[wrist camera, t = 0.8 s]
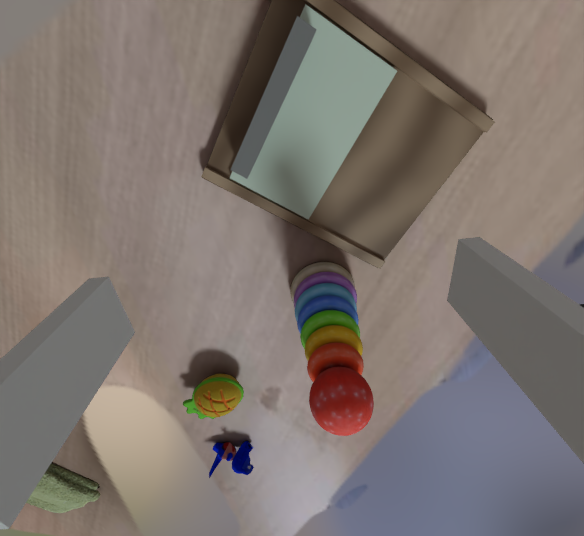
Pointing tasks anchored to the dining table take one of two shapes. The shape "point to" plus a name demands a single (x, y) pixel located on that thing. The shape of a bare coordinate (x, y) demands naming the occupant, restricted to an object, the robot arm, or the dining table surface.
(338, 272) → the stacking toy
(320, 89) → the lid
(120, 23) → the dining table surface
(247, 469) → the figurine
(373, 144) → the wooden frame
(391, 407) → the dining table surface
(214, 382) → the toy pineapple
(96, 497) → the washcloth
